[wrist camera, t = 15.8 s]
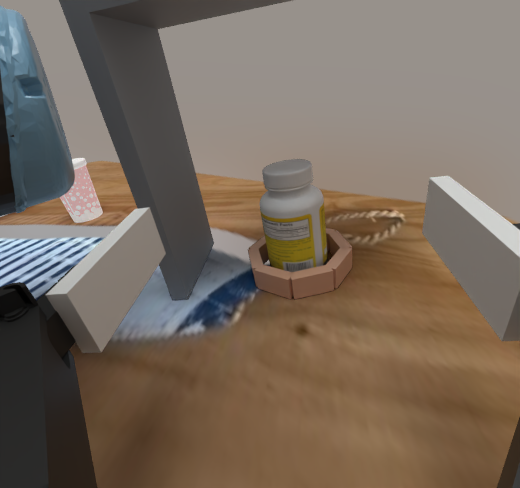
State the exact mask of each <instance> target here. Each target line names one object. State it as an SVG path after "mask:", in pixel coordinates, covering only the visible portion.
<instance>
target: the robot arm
mask: <svg viewBox="0 0 520 488" xmlns="http://www.w3.org/2000/svg"><path fill="white" fill-rule="evenodd" d="M74 180H75V172H74V167H73V162H72V158H71V154H70V151H69V147H68V144H67V140H66V137H65V133H64V130H63V127H62V123H61V120H60V117H59V114H58V111H57V107H56V104H55V102H54V98H53V95H52V92H51V89H50V86H49V83H48V80H47V77H46V74H45V71H44V68H43V65H42V62H41V59H40V56H39V53H38V51H37V48H36V45H35V43H34V40H33V38H32V36H31V34H30V32H29V29H28V26H27V23H26V21H25V19H24V17H23V16H22V15H21V14H20V13H19V12H17V11H15V10H8V9H5V8H4V7H2V6H0V216H2V215H5V214H9V213H13V212H17V213H20V212H22V211H24V210H25V209H26V208H27V207H30V206H33V205H36V204H39V203H43V202H46V201H49V200H52V199H56V198H59V197H61V196H63V195H64V194H66V193H67V192H68V191H69V190H70V188H71V187H72V186H73V184H74ZM422 233H423V235H424V236H425V237H426V239H427V240H428V242H429V243H430V244H431V246H432V247H433V248H434V250H435V251H436V252H437V254H438V255H439V256H440V258H441V259H442V261H443V262H444V263H445V265H446V266H447V267H448V269H449V270H450V271H451V273H452V274H453V276H454V277H455V278H456V280H457V281H458V282H459V284H460V285H461V286H462V288H463V289H464V290H465V292H466V293H467V295H468V296H469V297H470V299H471V300H472V301H473V303H474V304H475V305H476V307H477V308H478V309H479V311H480V312H481V314H482V315H483V316H484V318H485V319H486V320H487V322H488V323H489V324H490V326H491V327H492V328H493V330H494V331H495V333H496V334H497V335H498V337H499V338H500V339H501V341H520V223H519V224H511V223H510V222H509V221H507V220H506V219H505V218H503V217H502V216H501V215H499V214H498V213H497V212H495V211H494V210H493V209H491V208H490V207H489V206H487V205H486V204H485V203H484V202H482V201H481V200H479V199H478V198H477V197H476V196H474V195H473V194H472V193H470V192H469V191H468V190H466V189H465V188H464V187H462V186H461V185H460V184H459V183H457V182H456V181H455V180H453V179H452V178H451V177H449V176H443V177H433V178H429V185H428V194H427V200H426V208H425V216H424V223H423V231H422ZM165 254H166V252H165V249H164V247H163V244H162V241H161V238H160V235H159V233H158V230H157V227H156V224H155V221H154V219H153V216H152V213H151V210H150V207H149V208H139V209H135V210H134V211H133V212H132V213H131V214H130V215H129V216H127V217H126V218H125V219H124V220H123V221H122V222H121V223H120V224H119V225H118V226H117V227H116V228H115V229H114V230H113V231H112V232H111V233H110V234H109V235H108V236H107V237H105V238H104V239H103V240H102V241H101V242H100V243H99V244H98V245H97V246H96V247H95V248H94V249H93V250H92V251H91V252H90V253H89V254H88V255H87V256H86V257H85V258H83V259H82V260H81V261H80V262H79V263H78V264H77V265H75V266H73V267H72V268H71V269H70V270H69V271H68V272H67V273H66V274H65V276H63V277H62V278H61V279H59V280H58V283H55V284H54V285H53V286H52V287H51V288H50V289H49V290H48V291H47V292H46V293H45V294H44V295H43V296H42V297H40V298H39V299H38V300H37V301H36V300H35V299H34V297H33V296H32V294H31V293H30V291H29V290H28V288H27V287H26V285H25V284H24V283H20V282H19V283H12V284H9V285H6V286H3V287H1V288H0V488H97V484H96V478H95V473H94V467H93V462H92V456H91V451H90V445H89V440H88V434H87V429H86V423H85V418H84V412H83V407H82V401H81V396H80V390H79V385H78V379H77V374H76V368H75V363H74V357H73V355H72V354H71V352H70V351H69V349H70V348H71V346H72V345H73V344H74V342H76V344H77V345H78V347H79V348H80V350H81V351H82V353H100V352H102V351H103V349H104V348H105V346H106V345H107V343H108V342H109V340H110V339H111V337H112V336H113V334H114V332H115V331H116V329H117V328H118V326H119V325H120V323H121V322H122V320H123V319H124V317H125V316H126V314H127V313H128V311H129V309H130V308H131V306H132V305H133V303H134V302H135V300H136V299H137V297H138V296H139V294H140V293H141V291H142V290H143V288H144V286H145V285H146V283H147V282H148V280H149V279H150V277H151V276H152V274H153V273H154V271H155V270H156V268H157V267H158V265H159V263H160V262H161V260H162V259H163V257H164V256H165ZM497 488H520V418H519V421H518V424H517V427H516V430H515V433H514V436H513V439H512V443H511V446H510V449H509V452H508V455H507V458H506V461H505V464H504V467H503V470H502V473H501V477H500V480H499V483H498V486H497Z"/></svg>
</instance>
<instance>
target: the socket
mask: <svg viewBox="0 0 520 488" xmlns="http://www.w3.org/2000/svg"><path fill="white" fill-rule="evenodd" d="M326 242H327V251H330V252H331V254H332V255H333V257H332V258H331V259H330V260H329V262H328V263H327V264H326V265H323V266H318V267H314V268H309V269H305V270H300V271H296V272H288V271H285V270H281V269H277V268H274V267H270V266H266V265H263V264H264V263H265V262H267V261H268V260H269V255H268V250H267V244H266V239H265V235H264V236H263V237H262V238H261V239H259V240H258V241H257V242H256V243H254V244H253V245H252V246H251V247H249V250H248V253H249V258H250V263H251V268H252V272H253V276H254V280H255V284H256V287H258V289H261V290H264V291H267V292H270V293H273V294H276V295H279V296H282V297H285V298H288V299H291V298H292V297H294V299H299V298H303V297H307V296H312V295H316V294H321V293H325V292H329V291H334V288H335V289H337V288H338V286H339V285H340V284H341V282H342V281H343V280H344V278H345V277H346V275H347V274H348V273H349V271H350V270H351V269H352V246H351V245H350V244H349V243H348V242H347V240H346V239H345V238H344V237H343V236H342V235H341V234H340V232H339V231H338V230H337V231H336V229H330V228H326Z"/></svg>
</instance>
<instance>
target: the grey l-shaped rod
mask: <svg viewBox="0 0 520 488" xmlns="http://www.w3.org/2000/svg"><path fill="white" fill-rule="evenodd" d="M287 1H291V0H59V2H60V4H61V7H62V9H63V12H64V15H65V17H66V20H67V23H68V25H69V28H70V30H71V33H72V36H73V39H74V41H75V44H76V46H77V49H78V52H79V54H80V57H81V60H82V62H83V65H84V68H85V70H86V73H87V75H88V78H89V81H90V83H91V86H92V89H93V91H94V94H95V97H96V99H97V102H98V105H99V107H100V110H101V112H102V115H103V118H104V120H105V123H106V126H107V128H108V131H109V134H110V136H111V139H112V141H113V144H114V147H115V149H116V152H117V155H118V157H119V160H120V163H121V165H122V168H123V171H124V173H125V176H126V179H127V181H128V184H129V187H130V189H131V192H132V194H133V197H134V200H135V202H136V205H137V208H138V209H139V208H149V207H150V210H151V213H152V216H153V219H154V221H155V224H156V227H157V230H158V233H159V235H160V238H161V241H162V244H163V247H164V249H165V252H166V254H165V256H164V257H163V259H162V260H161V262H160V263H159V266H160V268H161V271H162V274H163V276H164V279H165V282H166V284H167V287H168V290H169V292H170V295H171V297H172V300H183V299H188V298H189V296H190V294H191V292H192V290H193V288H194V285H195V283H196V281H197V279H198V277H199V275H200V272H201V270H202V268H203V266H204V264H205V262H206V259H207V257H208V255H209V253H210V251H211V249H212V246H213V244H214V242H213V238H212V234H211V231H210V226H209V223H208V219H207V215H206V211H205V208H204V204H203V200H202V196H201V192H200V189H199V185H198V181H197V177H196V173H195V170H194V166H193V162H192V158H191V154H190V151H189V147H188V143H187V139H186V135H185V132H184V128H183V124H182V120H181V116H180V113H179V109H178V105H177V101H176V97H175V94H174V90H173V86H172V82H171V78H170V75H169V71H168V67H167V63H166V60H165V56H164V52H163V48H162V44H161V40H160V37H159V33H158V29H160V28H165V27H170V26H174V25H179V24H184V23H188V22H193V21H197V20H202V19H207V18H212V17H217V16H221V15H226V14H231V13H235V12H240V11H245V10H249V9H254V8H259V7H263V6H268V5H273V4H277V3H282V2H287Z"/></svg>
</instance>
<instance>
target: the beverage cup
mask: <svg viewBox="0 0 520 488" xmlns="http://www.w3.org/2000/svg"><path fill="white" fill-rule="evenodd" d="M85 161H86V160H85V158H76V159H72V162H73V167H74V172H75V180H74V184H73V186H72V187H71V188H70V190H69V191H68V192H67V193H66V194H64V195H63V196H61V197H60V199H61V200H62V202H63V204H64V206H65V207H66V209H67V211H68V212H69V214H70V216H71V217H72V219H73V221H74V222H76V223H80V222H86V221H90V220H92V219H95V218H97V217H99V216H100V215H101V214H102V213H103V211H102V209H101V206H100V203H99V200H98V198H97V195H96V192H95V189H94V187H93V184H92V181H91V178H90V176H89V173H88V170H87V167H86V164H87V163H86V162H85Z"/></svg>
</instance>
